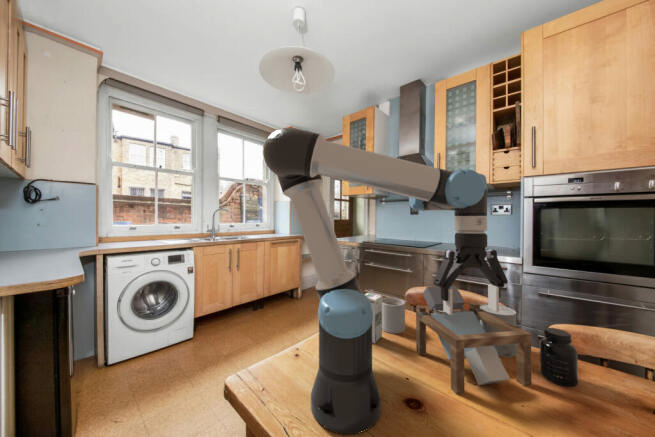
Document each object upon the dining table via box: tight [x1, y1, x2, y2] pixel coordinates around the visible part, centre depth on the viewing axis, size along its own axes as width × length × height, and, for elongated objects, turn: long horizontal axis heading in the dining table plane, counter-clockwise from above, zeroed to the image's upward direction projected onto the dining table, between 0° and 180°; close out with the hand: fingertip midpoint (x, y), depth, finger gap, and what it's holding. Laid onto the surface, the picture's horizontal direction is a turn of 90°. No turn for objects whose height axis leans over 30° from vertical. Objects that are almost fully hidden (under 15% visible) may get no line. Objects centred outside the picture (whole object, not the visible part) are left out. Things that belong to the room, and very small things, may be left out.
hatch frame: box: [415, 301, 533, 395], centre depth 65 cm, size 20×18×14 cm
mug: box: [382, 297, 406, 335], centre depth 89 cm, size 11×10×10 cm
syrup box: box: [364, 292, 383, 344], centre depth 81 cm, size 6×6×14 cm
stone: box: [465, 346, 511, 386], centre depth 59 cm, size 5×5×7 cm
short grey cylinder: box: [480, 303, 517, 358], centre depth 74 cm, size 10×10×12 cm
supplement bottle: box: [539, 327, 579, 389], centre depth 60 cm, size 7×7×12 cm
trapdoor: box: [422, 285, 498, 361], centre depth 70 cm, size 14×20×4 cm
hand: (471, 311), depth 64 cm, fingers open, 13 cm apart
